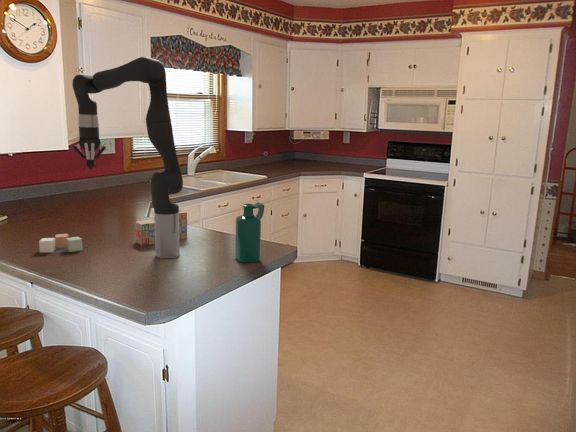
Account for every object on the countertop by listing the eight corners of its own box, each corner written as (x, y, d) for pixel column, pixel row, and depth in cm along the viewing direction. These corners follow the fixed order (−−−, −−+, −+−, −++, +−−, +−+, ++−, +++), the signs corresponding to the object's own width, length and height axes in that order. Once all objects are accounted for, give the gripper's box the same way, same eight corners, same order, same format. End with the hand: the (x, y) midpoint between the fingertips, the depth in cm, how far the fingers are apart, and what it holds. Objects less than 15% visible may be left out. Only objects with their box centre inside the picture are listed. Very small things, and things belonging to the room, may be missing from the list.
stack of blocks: (141, 246, 198) (141, 217, 195) (135, 242, 202) (134, 214, 200) (187, 238, 212) (187, 211, 209) (180, 235, 216) (180, 209, 214)
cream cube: (52, 252, 182) (51, 240, 181) (39, 252, 181) (39, 241, 180) (55, 249, 186) (55, 237, 185) (43, 249, 185) (42, 238, 184)
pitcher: (240, 263, 178) (241, 206, 174) (233, 257, 186) (234, 202, 181) (264, 261, 182) (266, 205, 178) (257, 255, 190) (258, 201, 185)
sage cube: (82, 250, 186) (81, 239, 185) (70, 251, 183) (69, 240, 182) (79, 247, 189) (78, 236, 188) (67, 249, 186) (66, 238, 185)
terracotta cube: (69, 247, 189) (68, 236, 188) (56, 248, 187) (55, 237, 186) (68, 244, 193) (67, 233, 192) (56, 245, 191) (55, 234, 190)
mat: (81, 253, 185) (81, 251, 185) (38, 255, 180) (38, 253, 180) (83, 245, 195) (83, 243, 195) (42, 247, 190) (42, 245, 190)
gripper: (69, 125, 187) (72, 169, 191) (105, 126, 191) (107, 169, 195) (71, 125, 194) (74, 167, 198) (106, 126, 198) (108, 167, 202)
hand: (91, 168), depth 196 cm, fingers closed
